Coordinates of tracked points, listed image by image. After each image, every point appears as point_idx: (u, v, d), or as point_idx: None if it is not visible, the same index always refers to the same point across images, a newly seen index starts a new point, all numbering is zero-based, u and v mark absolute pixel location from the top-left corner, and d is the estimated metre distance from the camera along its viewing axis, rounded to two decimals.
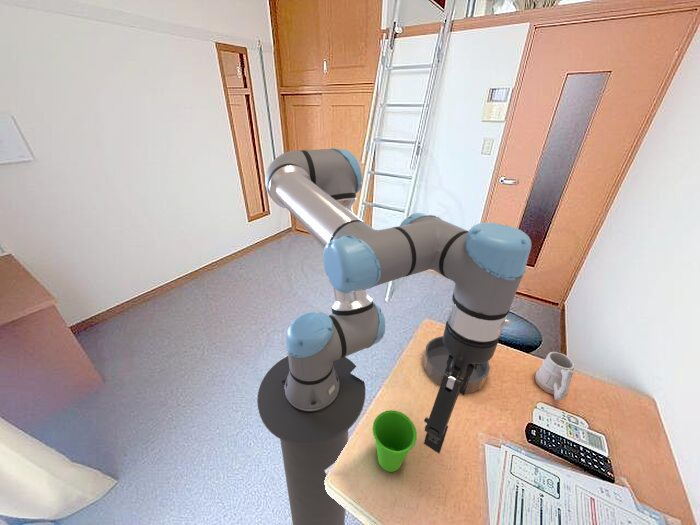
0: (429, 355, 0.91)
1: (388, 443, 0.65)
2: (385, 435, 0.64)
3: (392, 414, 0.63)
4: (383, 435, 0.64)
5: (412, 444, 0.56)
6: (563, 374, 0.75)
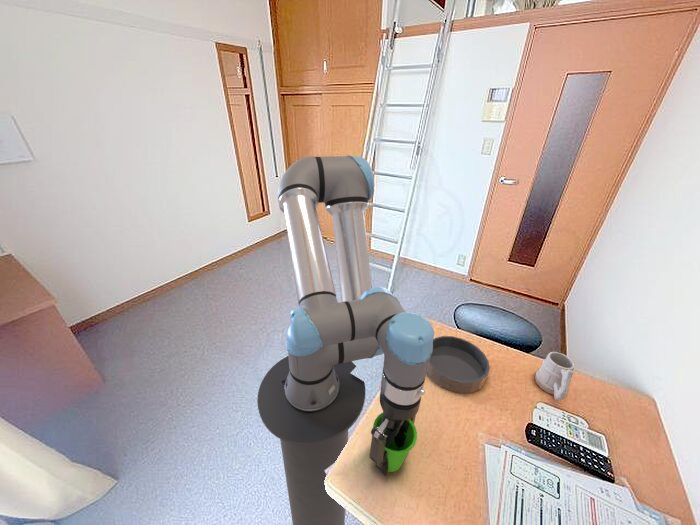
0: None
1: None
2: None
3: None
4: None
5: (413, 444, 0.56)
6: (563, 374, 0.75)
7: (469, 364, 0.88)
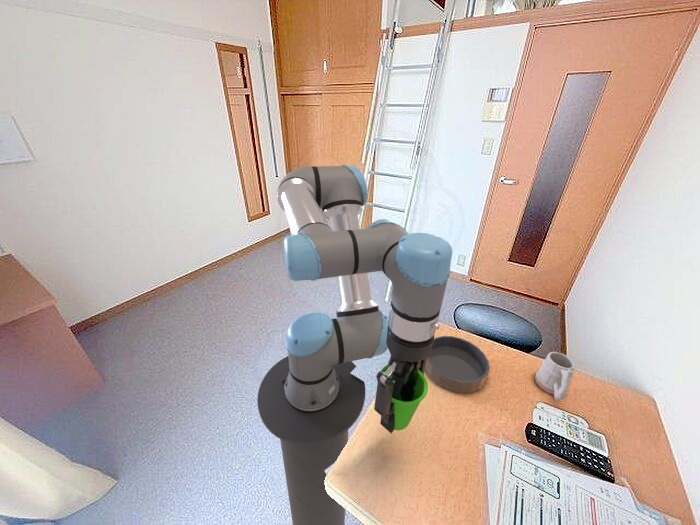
0: (429, 355, 0.91)
1: None
2: None
3: None
4: None
5: (423, 394, 0.50)
6: (563, 374, 0.75)
7: (469, 364, 0.88)
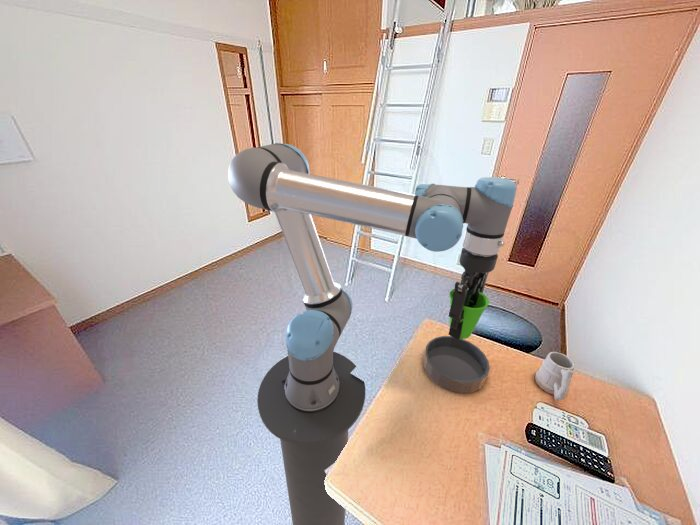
0: (429, 355, 0.91)
1: None
2: None
3: None
4: None
5: (486, 304, 0.67)
6: (563, 374, 0.75)
7: (469, 364, 0.88)
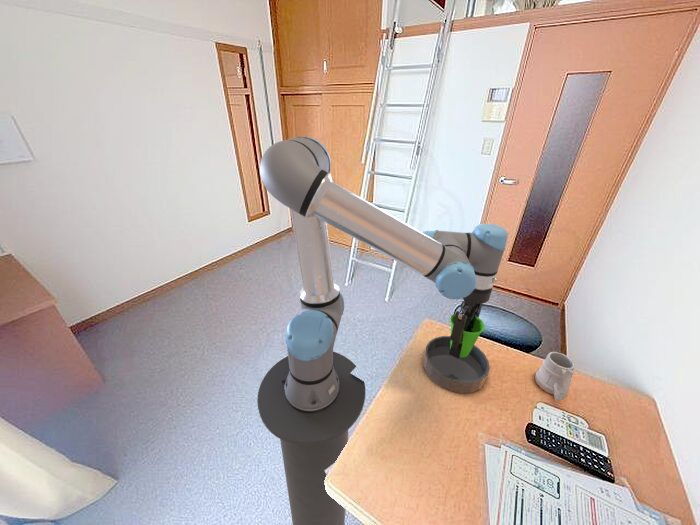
0: (429, 355, 0.91)
1: None
2: None
3: None
4: None
5: (482, 329, 0.77)
6: (563, 374, 0.75)
7: (469, 364, 0.88)
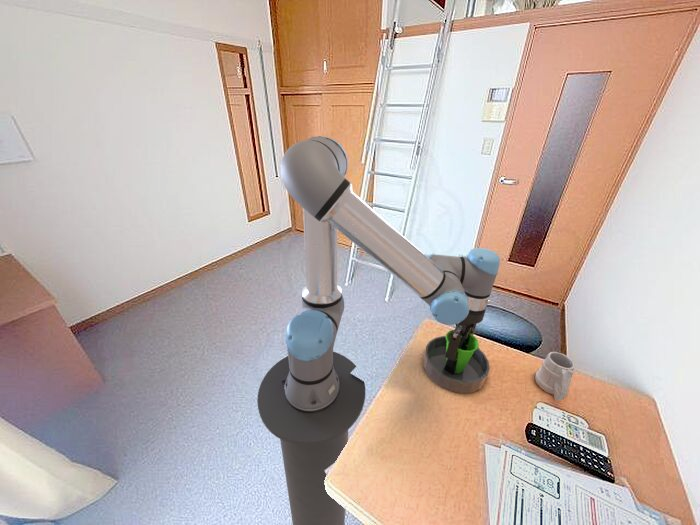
0: (429, 355, 0.91)
1: None
2: None
3: None
4: None
5: (477, 347, 0.80)
6: (563, 374, 0.75)
7: (469, 364, 0.88)
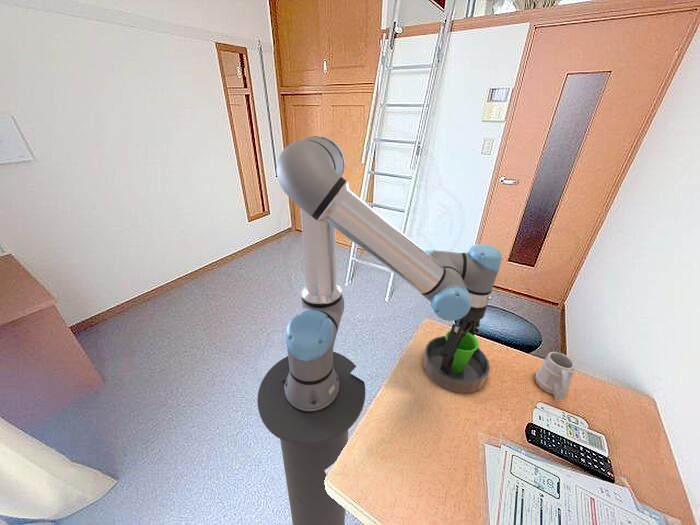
0: (429, 355, 0.91)
1: None
2: None
3: None
4: None
5: (477, 347, 0.80)
6: (563, 374, 0.75)
7: (469, 364, 0.88)
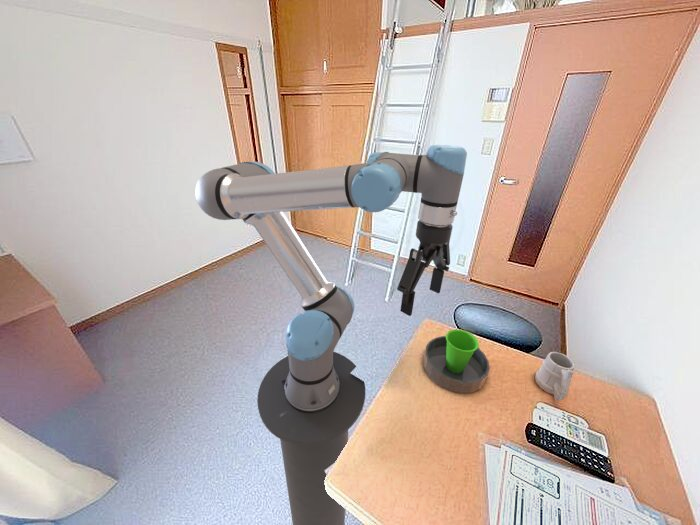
0: (429, 355, 0.91)
1: None
2: None
3: (456, 332, 0.86)
4: None
5: (477, 347, 0.80)
6: (563, 374, 0.75)
7: (469, 364, 0.88)
